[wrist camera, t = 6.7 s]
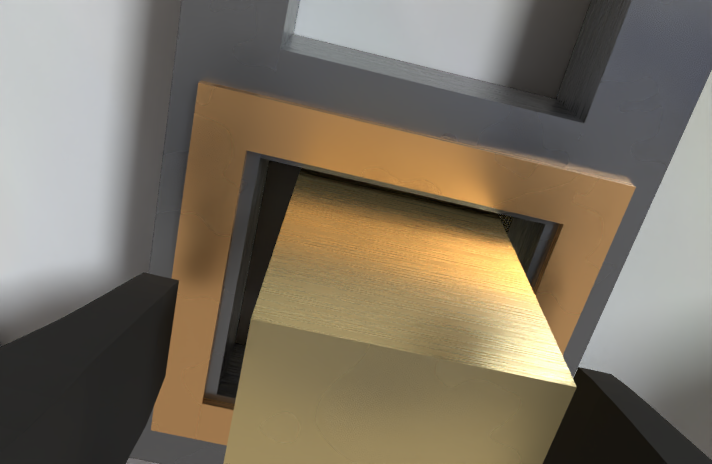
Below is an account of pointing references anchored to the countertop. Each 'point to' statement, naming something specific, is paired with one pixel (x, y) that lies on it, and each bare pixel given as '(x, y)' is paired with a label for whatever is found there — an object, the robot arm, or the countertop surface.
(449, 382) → the tan rectangular block
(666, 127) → the grey rectangular frame
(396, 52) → the countertop surface
